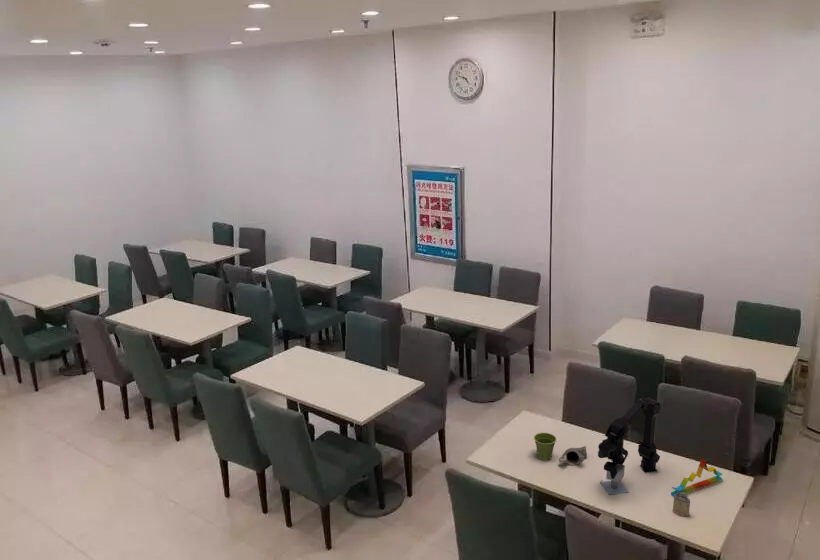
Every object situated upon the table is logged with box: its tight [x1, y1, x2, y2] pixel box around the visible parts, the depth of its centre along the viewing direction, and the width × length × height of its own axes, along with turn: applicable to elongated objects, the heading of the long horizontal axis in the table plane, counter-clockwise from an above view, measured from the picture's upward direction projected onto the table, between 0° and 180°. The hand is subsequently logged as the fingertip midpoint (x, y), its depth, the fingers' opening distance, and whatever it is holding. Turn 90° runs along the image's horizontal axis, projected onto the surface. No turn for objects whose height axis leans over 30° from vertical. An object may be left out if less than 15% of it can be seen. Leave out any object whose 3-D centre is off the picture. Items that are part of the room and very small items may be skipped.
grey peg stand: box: [599, 480, 630, 496], centre depth 317 cm, size 10×10×6 cm
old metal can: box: [672, 492, 691, 517], centre depth 296 cm, size 7×4×10 cm, turn 53°
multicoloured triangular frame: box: [670, 458, 723, 498], centre depth 313 cm, size 30×3×15 cm, turn 114°
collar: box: [605, 461, 626, 483], centre depth 315 cm, size 7×7×6 cm
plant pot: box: [533, 432, 558, 461], centre depth 345 cm, size 12×12×11 cm
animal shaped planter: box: [558, 445, 588, 466], centre depth 340 cm, size 16×9×15 cm
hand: (615, 475), depth 316 cm, fingers closed on collar, 7 cm apart
